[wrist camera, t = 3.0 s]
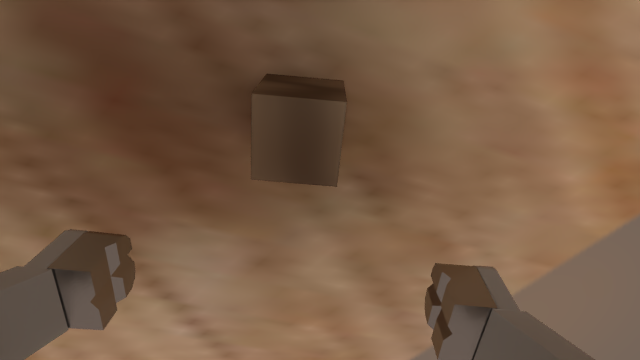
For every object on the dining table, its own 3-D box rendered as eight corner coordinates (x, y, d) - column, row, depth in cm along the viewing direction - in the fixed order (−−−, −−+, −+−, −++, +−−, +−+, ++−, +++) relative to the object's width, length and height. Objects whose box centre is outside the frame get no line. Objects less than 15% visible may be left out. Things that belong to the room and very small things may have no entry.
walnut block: (265, 145, 25) (250, 179, 20) (266, 73, 23) (251, 93, 18) (335, 151, 25) (336, 186, 20) (343, 80, 23) (346, 102, 18)
